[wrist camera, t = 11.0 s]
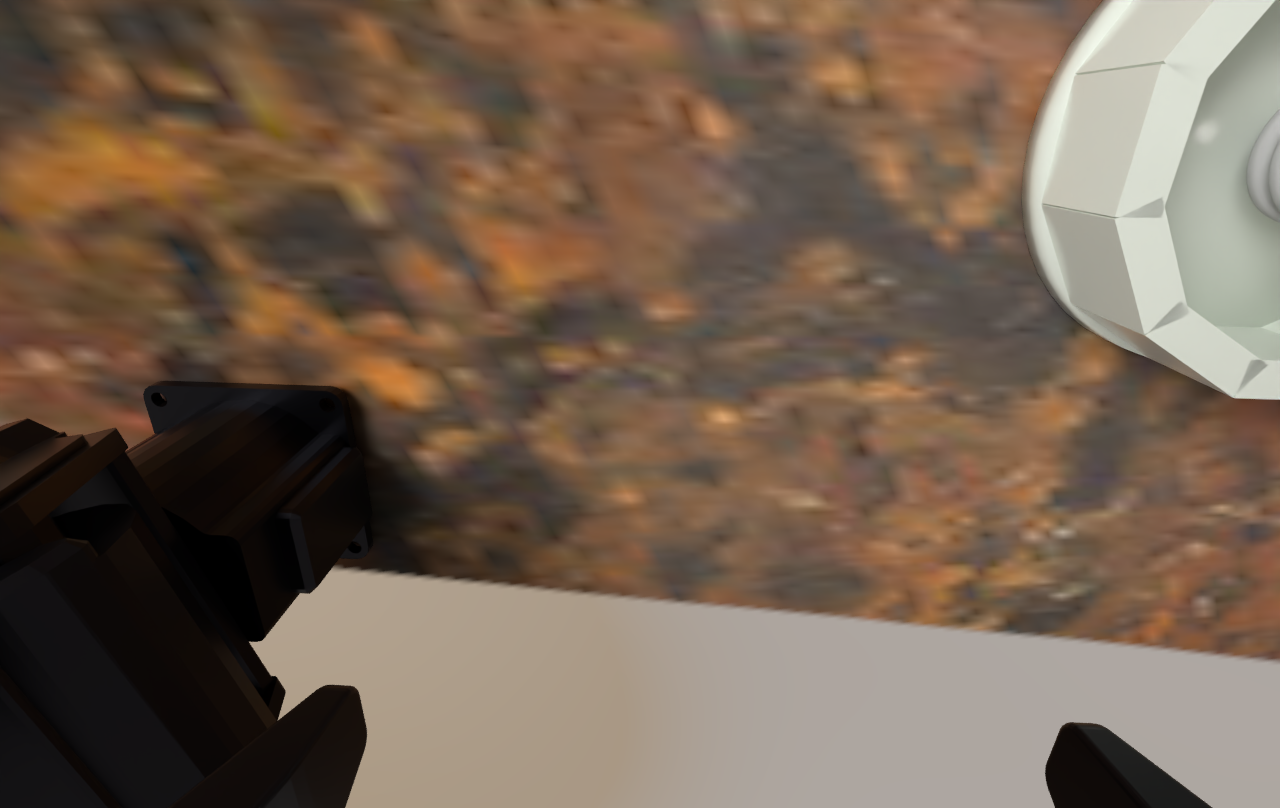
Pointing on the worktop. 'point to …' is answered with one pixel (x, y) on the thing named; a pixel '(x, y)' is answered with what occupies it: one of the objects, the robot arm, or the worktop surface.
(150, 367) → the worktop surface
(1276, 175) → the light bulb
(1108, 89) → the bulb holder
